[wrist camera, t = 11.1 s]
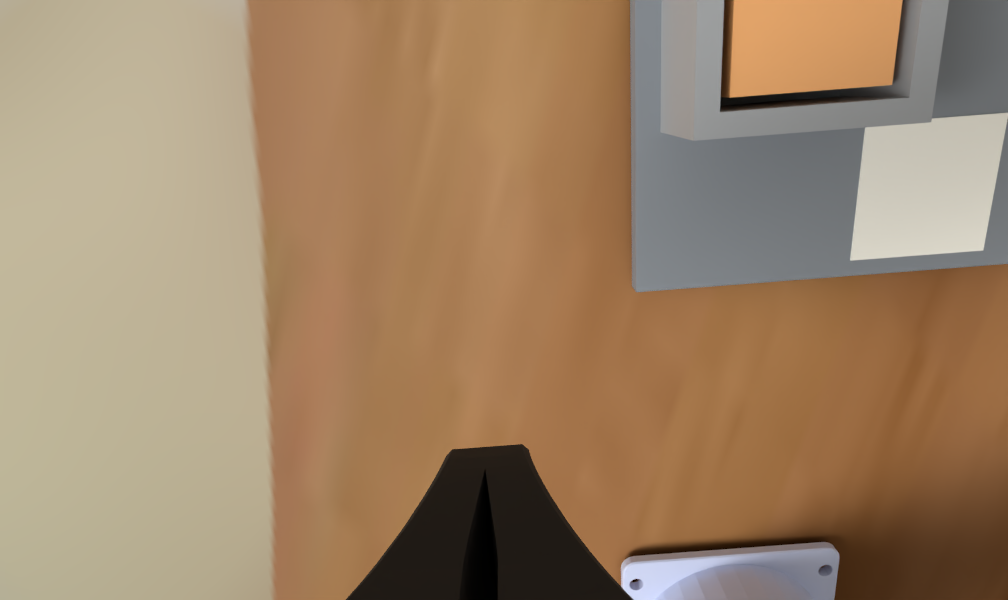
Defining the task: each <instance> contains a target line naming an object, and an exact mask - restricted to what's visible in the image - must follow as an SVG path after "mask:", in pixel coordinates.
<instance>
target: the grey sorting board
mask: <svg viewBox="0 0 1008 600" xmlns="http://www.w3.org/2000/svg"><path fill="white" fill-rule="evenodd" d="M723 19H724V0H630V45H631V194H632V287H633V288H634V290H635V291H636V292H645V291H658V290H671V289H684V288H697V287H710V286H723V285H736V284H749V283H763V282H776V281H789V280H802V279H815V278H828V277H841V276H854V275H867V274H880V273H893V272H906V271H920V270H933V269H946V268H959V267H972V266H985V265H998V264H1008V0H903V1H902V9H901V17H900V25H899V33H898V42H897V50H896V58H895V66H894V74H893V82H892V85H885V86H872V87H860V88H847V89H834V90H821V91H808V92H796V93H783V94H770V95H757V96H744V97H732V98H726V97H721V72H722V46H723Z"/></svg>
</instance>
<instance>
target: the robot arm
mask: <svg viewBox="0 0 1008 600" xmlns="http://www.w3.org/2000/svg"><path fill="white" fill-rule="evenodd" d="M839 559H840V557H839V553H838V551H837V550H836V549H835V547H834V546H833V545H832V544H830V543H828V542H816V543H803V544H789V545H776V546H762V547H749V548H735V549H722V550H708V551H695V552H681V553H668V554H654V555H641V556H632V557H629V558H627V559H625V560H624V561H623V563H622V565H621V586H620V585H619V584H618V583H617V582H616V581H615V580H614V579H613V578H612V576H611V575H610V574H609V573H608V572H607V571H606V570H605V569H604V568H603V566H602V565H601V564H600V563H599V562H598V561H597V559H596V558H595V557H594V556H593V555H592V553H591V552H590V551H589V550H588V548H587V547H586V546H585V544H584V543H583V542H582V541H581V539H580V538H579V537H578V535H577V534H576V533H575V531H574V530H573V529H572V527H571V526H570V524H569V523H568V522H567V520H566V519H565V517H564V516H563V514H562V513H561V511H560V510H559V508H558V507H557V505H556V504H555V502H554V501H553V499H552V497H551V496H550V494H549V492H548V491H547V489H546V487H545V486H544V484H543V482H542V480H541V478H540V476H539V475H538V472H537V470H536V468H535V466H534V464H533V462H532V459H531V456H530V453H529V450H528V449H527V448H526V447H525V446H524V445H522V444H520V445H507V446H493V447H480V448H467V449H453V450H452V451H451V452H450V453H449V454H448V455H447V456H446V458H445V460H444V462H443V464H442V466H441V468H440V470H439V472H438V473H437V475H436V477H435V479H434V481H433V482H432V484H431V486H430V487H429V489H428V491H427V492H426V494H425V496H424V497H423V499H422V500H421V502H420V503H419V505H418V507H417V508H416V510H415V511H414V513H413V514H412V516H411V517H410V519H409V520H408V522H407V523H406V525H405V526H404V528H403V529H402V531H401V532H400V533H399V535H398V536H397V537H396V539H395V540H394V541H393V543H392V544H391V545H390V547H389V548H388V549H387V551H386V552H385V553H384V555H383V556H382V557H381V559H380V560H379V561H378V563H377V564H376V565H375V566H374V568H373V569H372V570H371V571H370V572H369V574H368V575H367V576H366V577H365V578H364V580H363V581H362V582H361V583H360V584H359V585H358V587H357V588H356V589H355V590H354V591H353V592H352V593H351V594H350V596H349V597H348V598H347V599H346V600H834V598H835V590H836V582H837V574H838V567H839ZM823 565H825V566H824V567H823V568H820V567H822V566H823ZM634 579H640V580H638V581H637V582H631V581H632V580H634Z"/></svg>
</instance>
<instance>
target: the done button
mask: <svg viewBox="0 0 1008 600" xmlns="http://www.w3.org/2000/svg"><path fill="white" fill-rule="evenodd" d="M902 1H903V0H724V19H723V46H722V72H721V97H726V98H732V97H744V96H757V95H770V94H783V93H796V92H808V91H821V90H834V89H847V88H860V87H872V86H885V85H892V82H893V74H894V66H895V58H896V50H897V42H898V33H899V25H900V17H901V9H902Z"/></svg>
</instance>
